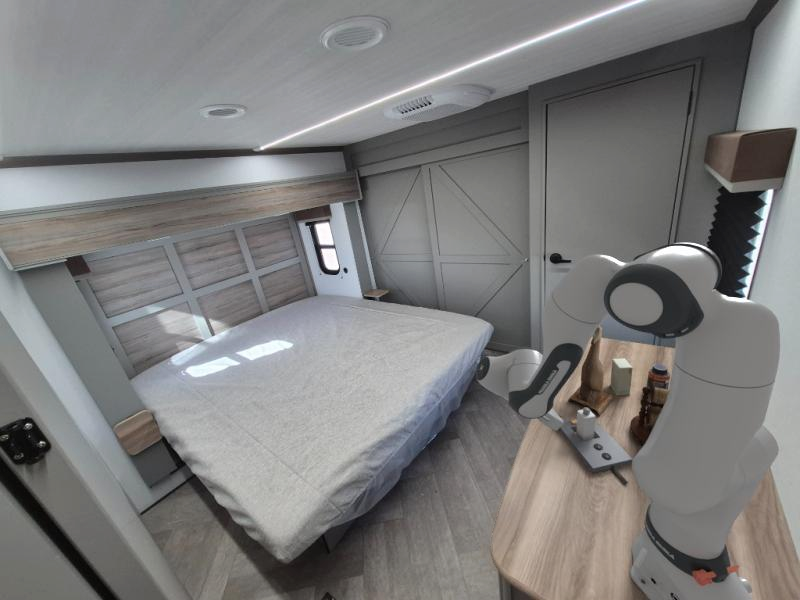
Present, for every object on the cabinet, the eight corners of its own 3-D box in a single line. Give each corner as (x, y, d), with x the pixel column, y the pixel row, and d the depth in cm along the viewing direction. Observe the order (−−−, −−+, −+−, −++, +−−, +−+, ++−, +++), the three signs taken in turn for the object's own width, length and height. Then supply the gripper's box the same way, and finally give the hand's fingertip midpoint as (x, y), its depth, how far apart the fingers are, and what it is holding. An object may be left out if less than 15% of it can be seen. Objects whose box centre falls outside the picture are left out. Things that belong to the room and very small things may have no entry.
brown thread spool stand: (686, 428, 97) (698, 376, 90) (695, 465, 86) (709, 410, 79) (629, 415, 105) (635, 366, 98) (629, 447, 94) (637, 396, 87)
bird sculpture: (567, 403, 115) (569, 330, 102) (580, 386, 121) (584, 315, 109) (600, 418, 107) (607, 340, 94) (613, 398, 113) (621, 323, 100)
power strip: (646, 479, 85) (647, 472, 84) (605, 489, 85) (605, 482, 84) (589, 419, 106) (590, 413, 105) (556, 427, 106) (556, 421, 105)
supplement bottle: (670, 397, 109) (676, 371, 105) (651, 398, 110) (656, 372, 106) (660, 386, 114) (664, 361, 110) (642, 387, 115) (646, 362, 111)
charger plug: (593, 439, 99) (595, 412, 95) (583, 442, 99) (585, 414, 95) (586, 431, 102) (588, 404, 98) (576, 434, 102) (577, 406, 98)
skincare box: (630, 395, 113) (633, 368, 108) (616, 395, 114) (619, 368, 109) (622, 384, 119) (625, 357, 114) (609, 384, 120) (612, 358, 115)
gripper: (547, 407, 80) (581, 427, 84) (512, 364, 99) (541, 382, 103) (531, 424, 82) (565, 443, 86) (499, 378, 101) (529, 396, 105)
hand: (552, 409), depth 95 cm, fingers open, 8 cm apart
